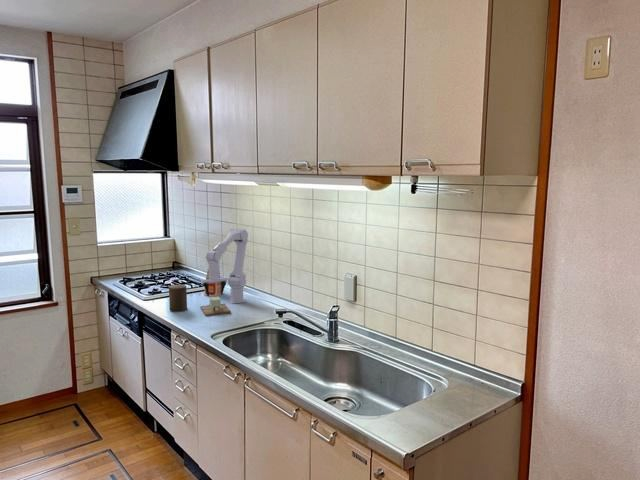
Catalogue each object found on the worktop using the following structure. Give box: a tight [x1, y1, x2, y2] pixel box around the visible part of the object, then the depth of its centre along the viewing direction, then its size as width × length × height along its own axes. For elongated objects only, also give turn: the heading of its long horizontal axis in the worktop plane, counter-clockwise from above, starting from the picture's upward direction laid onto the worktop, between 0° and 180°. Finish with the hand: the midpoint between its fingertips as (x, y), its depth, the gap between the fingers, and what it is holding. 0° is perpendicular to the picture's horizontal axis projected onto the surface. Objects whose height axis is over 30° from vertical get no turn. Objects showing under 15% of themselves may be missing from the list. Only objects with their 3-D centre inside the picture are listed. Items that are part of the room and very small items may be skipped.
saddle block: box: [209, 296, 222, 311], centre depth 275 cm, size 6×5×6 cm
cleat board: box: [200, 303, 232, 317], centre depth 275 cm, size 16×14×3 cm
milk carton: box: [204, 265, 221, 297], centre depth 308 cm, size 9×9×20 cm
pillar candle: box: [168, 284, 188, 313], centre depth 276 cm, size 10×10×15 cm
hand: (214, 295), depth 274 cm, fingers open, 7 cm apart
